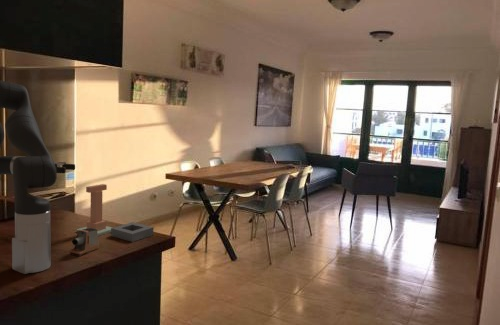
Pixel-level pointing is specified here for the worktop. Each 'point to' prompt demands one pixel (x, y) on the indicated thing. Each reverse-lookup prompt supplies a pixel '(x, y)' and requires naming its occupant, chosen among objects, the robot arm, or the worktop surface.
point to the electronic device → (85, 242)
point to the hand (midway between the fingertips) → (70, 168)
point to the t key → (96, 207)
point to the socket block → (132, 231)
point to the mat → (100, 232)
